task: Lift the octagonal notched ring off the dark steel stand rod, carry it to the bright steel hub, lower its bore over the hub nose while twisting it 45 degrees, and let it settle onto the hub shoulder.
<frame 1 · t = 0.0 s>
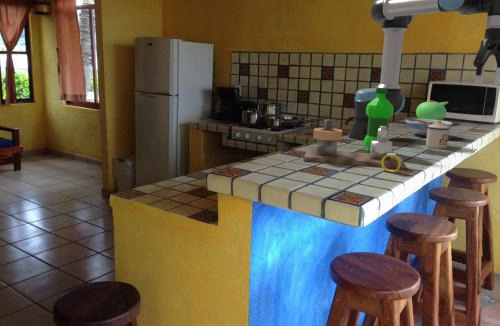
hand: (488, 84, 171), 28 cm above the worktop, fingers open, 13 cm apart
watch: (390, 171, 143), on the worktop
tool board: (352, 160, 158), on the worktop
teacup with lid: (437, 147, 192), on the worktop
plastic bottle: (375, 151, 177), on the worktop
ramen bowl: (426, 135, 225), on the worktop
octagonal notched ring: (327, 138, 158), point 7 cm above the worktop, touching tool board
green pumpkin: (429, 123, 280), on the worktop
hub: (379, 162, 156), resting on tool board
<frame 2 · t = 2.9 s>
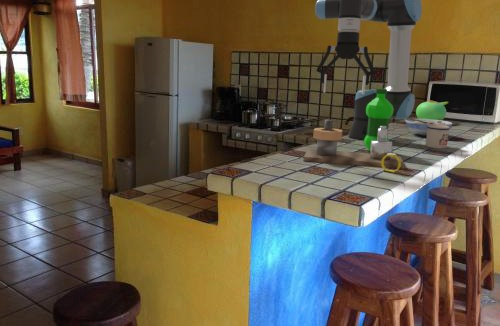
hand: (343, 93, 156), 24 cm above the worktop, fingers open, 13 cm apart
nothing on the worktop moved.
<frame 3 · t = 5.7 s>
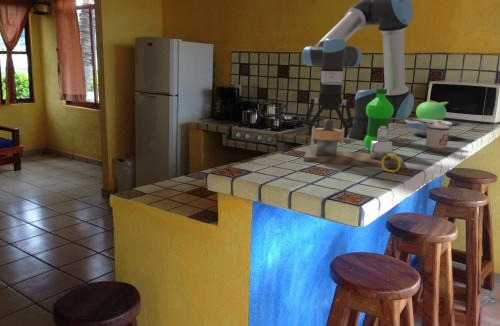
hand: (327, 145, 159), 5 cm above the worktop, fingers closed on octagonal notched ring, 10 cm apart
octagonal notched ring: (327, 138, 158), point 8 cm above the worktop, touching gripper, tool board
everything else where it was.
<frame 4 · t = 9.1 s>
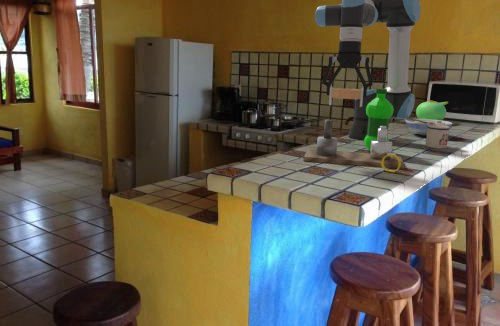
hand: (345, 105, 155), 20 cm above the worktop, fingers closed on octagonal notched ring, 10 cm apart
octagonal notched ring: (345, 97, 154), point 22 cm above the worktop, touching gripper
everything else where it was.
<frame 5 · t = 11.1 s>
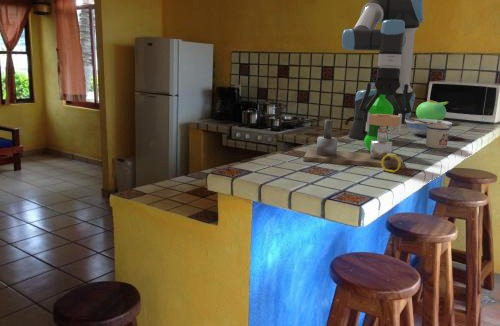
hand: (382, 131, 153), 11 cm above the worktop, fingers closed on octagonal notched ring, 10 cm apart
octagonal notched ring: (383, 124, 153), point 14 cm above the worktop, touching gripper
everything else where it was.
when the fingers open (6 cm above the worktop, at t = 12.8 s): octagonal notched ring stays where it is, resting on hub.
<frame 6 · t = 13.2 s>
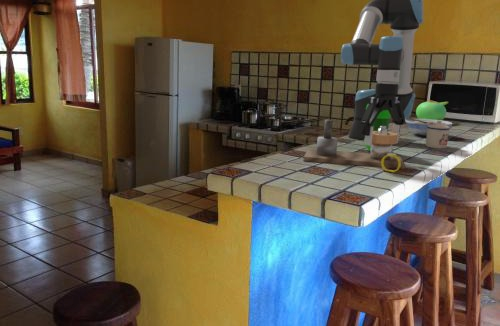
hand: (381, 143, 154), 7 cm above the worktop, fingers open, 13 cm apart
octagonal notched ring: (381, 141, 154), point 7 cm above the worktop, touching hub
everything else where it was.
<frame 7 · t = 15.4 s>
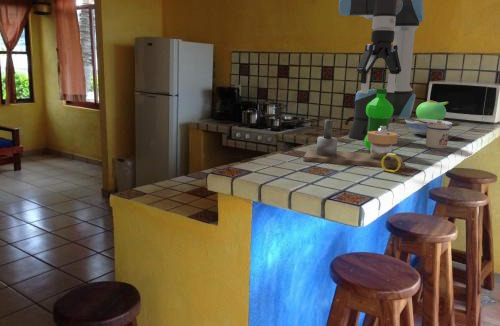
hand: (377, 92, 154), 24 cm above the worktop, fingers open, 13 cm apart
nothing on the worktop moved.
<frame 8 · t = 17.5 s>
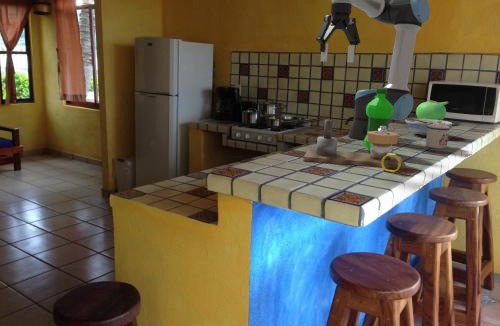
hand: (337, 62, 166), 35 cm above the worktop, fingers open, 13 cm apart
nothing on the worktop moved.
at the end: octagonal notched ring 0.0 cm off-centre on the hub, point 7.5 cm above the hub's base; octagonal notched ring tilted 0°; the gripper is holding nothing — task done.
